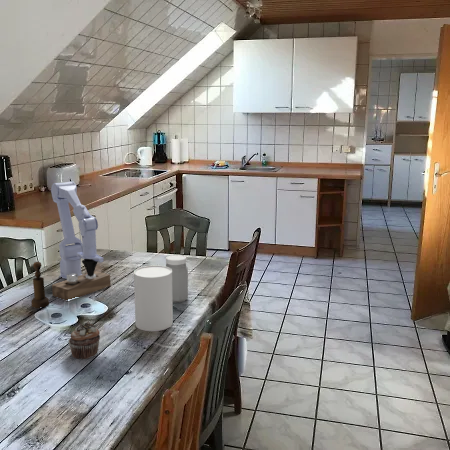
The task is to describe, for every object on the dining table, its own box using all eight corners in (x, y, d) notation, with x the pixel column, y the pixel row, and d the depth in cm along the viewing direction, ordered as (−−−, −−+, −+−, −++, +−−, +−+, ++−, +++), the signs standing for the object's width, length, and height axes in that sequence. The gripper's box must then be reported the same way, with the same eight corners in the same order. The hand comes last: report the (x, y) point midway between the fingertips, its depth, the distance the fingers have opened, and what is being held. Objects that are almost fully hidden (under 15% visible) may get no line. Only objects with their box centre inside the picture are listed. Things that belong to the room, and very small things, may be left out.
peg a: (65, 286, 207) (64, 275, 206) (73, 283, 211) (72, 272, 210) (72, 288, 205) (71, 277, 204) (80, 285, 209) (79, 274, 208)
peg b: (84, 285, 216) (83, 275, 215) (91, 283, 220) (91, 273, 219) (91, 287, 214) (90, 277, 213) (98, 285, 218) (98, 274, 216)
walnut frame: (52, 296, 206) (51, 284, 205) (94, 281, 225) (94, 270, 224) (68, 301, 201) (68, 289, 200) (110, 285, 220) (110, 274, 219)
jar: (184, 304, 199) (184, 261, 195) (161, 302, 201) (160, 260, 197) (191, 295, 209) (190, 254, 205) (168, 293, 211) (168, 253, 206)
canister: (137, 332, 174) (135, 278, 169) (133, 317, 187) (132, 266, 182) (175, 328, 177) (175, 275, 173) (169, 314, 190) (168, 264, 185)
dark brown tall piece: (27, 306, 196) (24, 262, 191) (40, 301, 201) (37, 258, 197) (40, 309, 193) (36, 265, 188) (52, 304, 198) (49, 261, 194)
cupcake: (88, 343, 166) (86, 315, 163) (106, 352, 160) (105, 323, 157) (63, 353, 158) (61, 324, 156) (81, 363, 152) (79, 333, 150)
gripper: (70, 244, 213) (72, 274, 216) (93, 250, 206) (95, 281, 209) (83, 241, 219) (84, 270, 222) (106, 246, 211) (107, 276, 214)
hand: (90, 275), depth 216 cm, fingers closed, pressing on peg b
